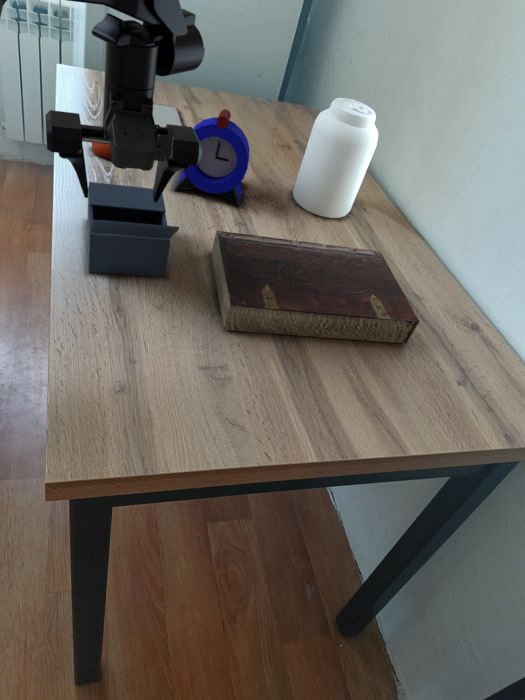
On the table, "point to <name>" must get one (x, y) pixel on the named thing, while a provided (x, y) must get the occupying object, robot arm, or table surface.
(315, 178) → the white plastic bottle
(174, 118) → the smartphone
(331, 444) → the table surface
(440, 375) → the table surface
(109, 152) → the pumpkin
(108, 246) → the carton
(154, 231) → the box lid
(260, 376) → the table surface
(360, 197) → the table surface
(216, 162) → the alarm clock
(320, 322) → the hardback book
